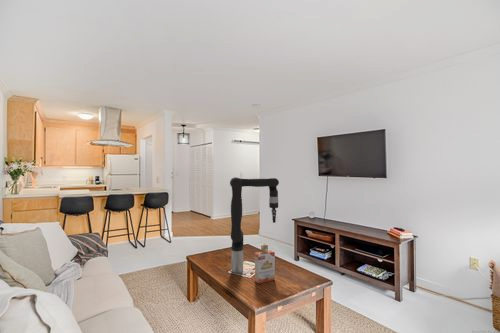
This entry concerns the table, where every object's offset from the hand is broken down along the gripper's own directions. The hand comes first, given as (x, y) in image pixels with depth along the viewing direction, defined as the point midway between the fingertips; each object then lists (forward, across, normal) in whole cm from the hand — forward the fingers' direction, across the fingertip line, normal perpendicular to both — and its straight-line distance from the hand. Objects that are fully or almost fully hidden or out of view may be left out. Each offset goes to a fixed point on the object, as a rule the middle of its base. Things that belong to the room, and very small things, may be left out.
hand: (274, 221), depth 217 cm
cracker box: (+38, +25, -8) cm, 47 cm away
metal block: (+17, +25, -8) cm, 32 cm away
